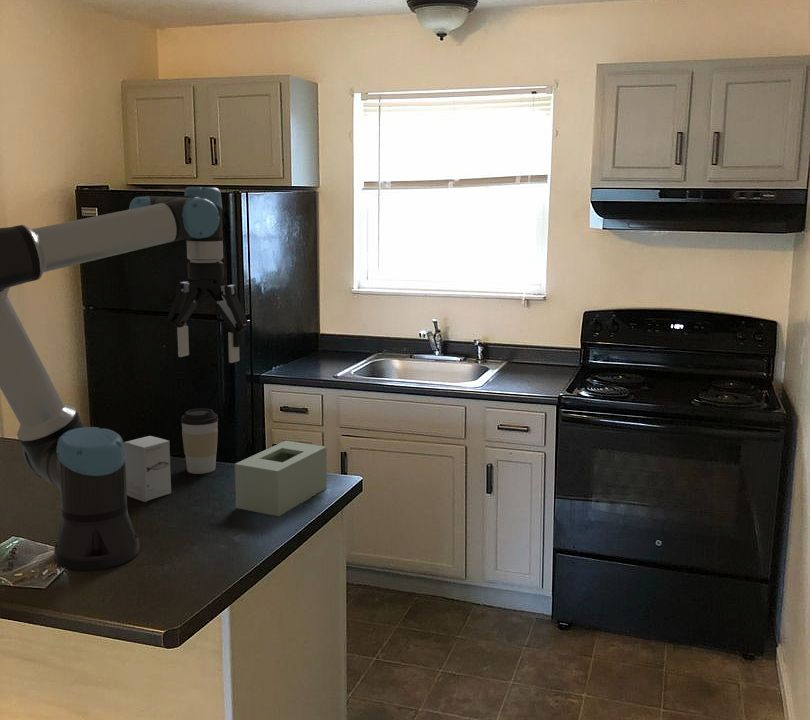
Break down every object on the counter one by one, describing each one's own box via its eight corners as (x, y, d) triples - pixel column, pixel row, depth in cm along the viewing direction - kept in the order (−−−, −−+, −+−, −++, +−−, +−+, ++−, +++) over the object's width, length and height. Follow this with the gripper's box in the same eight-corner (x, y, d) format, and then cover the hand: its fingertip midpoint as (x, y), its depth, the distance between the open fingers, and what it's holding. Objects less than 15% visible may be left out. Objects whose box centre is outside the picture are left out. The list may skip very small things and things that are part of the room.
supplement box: (145, 502, 194) (142, 447, 192) (124, 495, 199) (122, 441, 196) (172, 493, 200) (170, 440, 198) (152, 487, 205) (149, 434, 202)
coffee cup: (174, 471, 216) (172, 411, 213) (199, 461, 224) (197, 404, 221) (203, 477, 212) (201, 416, 209) (227, 467, 219) (225, 408, 217)
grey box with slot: (278, 516, 187) (277, 471, 185) (235, 507, 192) (234, 463, 190) (326, 488, 205) (326, 446, 203) (286, 481, 209) (285, 440, 208)
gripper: (264, 262, 186) (266, 361, 190) (170, 257, 196) (174, 350, 200) (243, 264, 179) (245, 367, 183) (147, 259, 190) (151, 356, 194)
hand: (208, 358), depth 192 cm, fingers open, 13 cm apart
